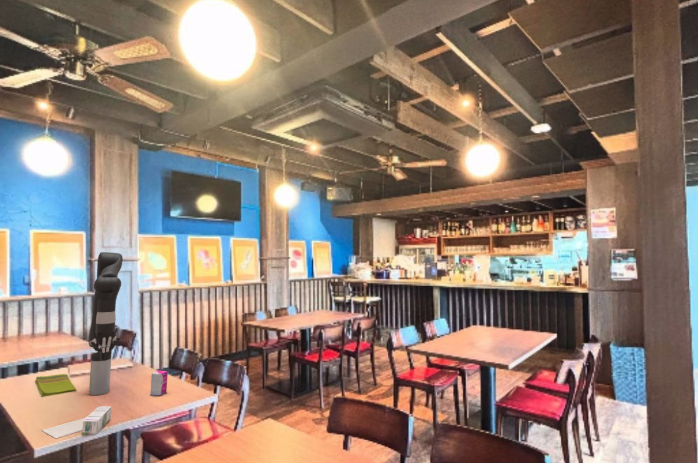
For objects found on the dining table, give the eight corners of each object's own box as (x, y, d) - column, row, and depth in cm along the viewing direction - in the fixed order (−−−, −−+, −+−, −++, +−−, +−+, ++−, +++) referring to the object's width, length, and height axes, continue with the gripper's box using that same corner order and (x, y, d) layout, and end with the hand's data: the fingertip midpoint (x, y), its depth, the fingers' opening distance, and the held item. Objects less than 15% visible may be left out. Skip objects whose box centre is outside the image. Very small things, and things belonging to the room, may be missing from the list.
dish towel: (67, 377, 243) (67, 371, 243) (77, 391, 216) (77, 385, 217) (34, 382, 233) (35, 376, 233) (41, 398, 206) (41, 391, 206)
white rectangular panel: (41, 431, 166) (41, 430, 166) (89, 417, 181) (89, 416, 181) (55, 438, 159) (55, 438, 159) (104, 423, 174) (104, 422, 174)
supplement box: (159, 396, 209) (160, 373, 209) (149, 395, 210) (150, 373, 211) (167, 393, 214) (168, 370, 215) (157, 392, 215) (158, 370, 216)
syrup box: (97, 406, 177) (81, 420, 163) (112, 406, 178) (97, 420, 164) (96, 419, 177) (80, 434, 162) (111, 419, 178) (96, 434, 163)
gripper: (116, 318, 191) (114, 356, 190) (85, 322, 180) (83, 362, 179) (125, 320, 186) (123, 358, 185) (93, 324, 175) (91, 365, 175)
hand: (103, 360), depth 182 cm, fingers closed
